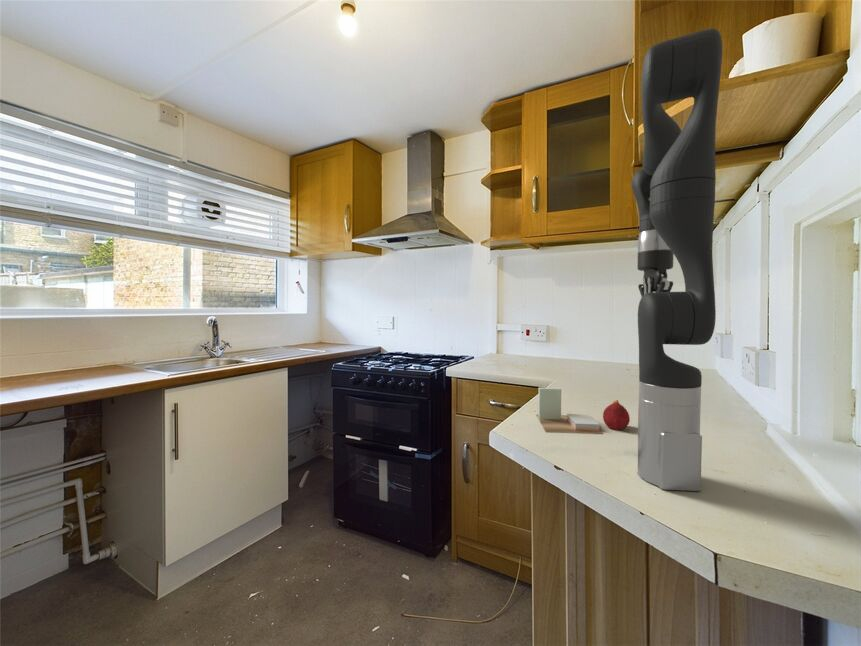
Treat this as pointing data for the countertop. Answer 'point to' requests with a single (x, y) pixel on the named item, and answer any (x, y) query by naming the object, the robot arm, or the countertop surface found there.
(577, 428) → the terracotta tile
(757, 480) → the countertop surface
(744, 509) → the countertop surface
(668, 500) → the countertop surface
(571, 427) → the walnut board
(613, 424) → the onion
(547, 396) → the sage tile
